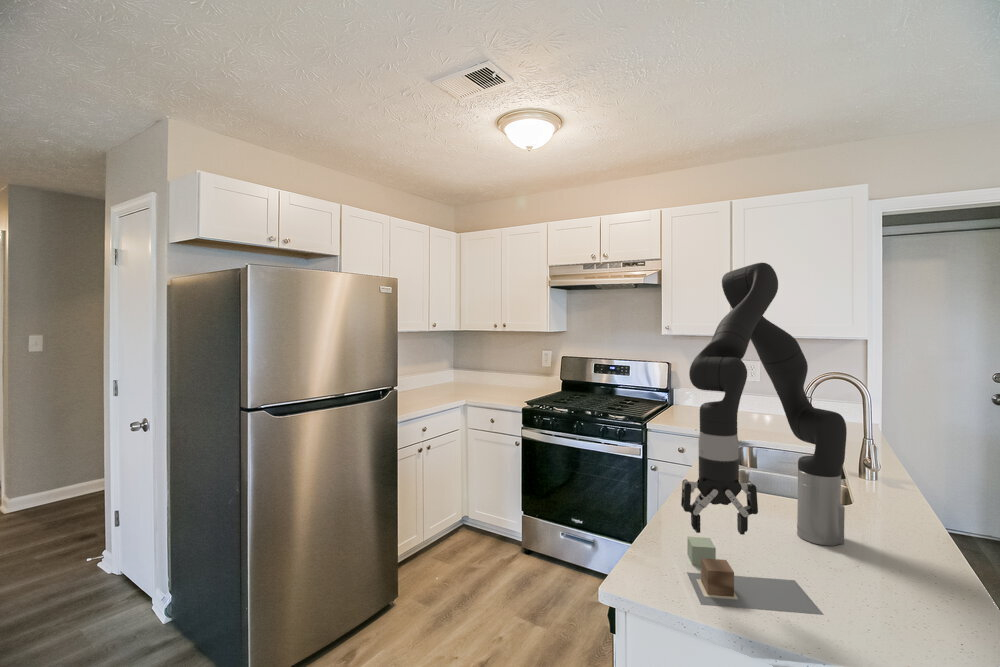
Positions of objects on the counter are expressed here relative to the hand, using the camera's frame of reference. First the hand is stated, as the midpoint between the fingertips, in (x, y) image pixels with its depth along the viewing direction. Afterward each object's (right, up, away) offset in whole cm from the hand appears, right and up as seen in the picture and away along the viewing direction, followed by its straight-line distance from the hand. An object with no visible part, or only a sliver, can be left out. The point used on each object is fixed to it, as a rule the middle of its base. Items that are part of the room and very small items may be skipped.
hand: (718, 532), depth 98 cm
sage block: (+2, -12, +12) cm, 18 cm away
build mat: (+6, -13, 0) cm, 14 cm away
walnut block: (0, -12, +1) cm, 12 cm away
